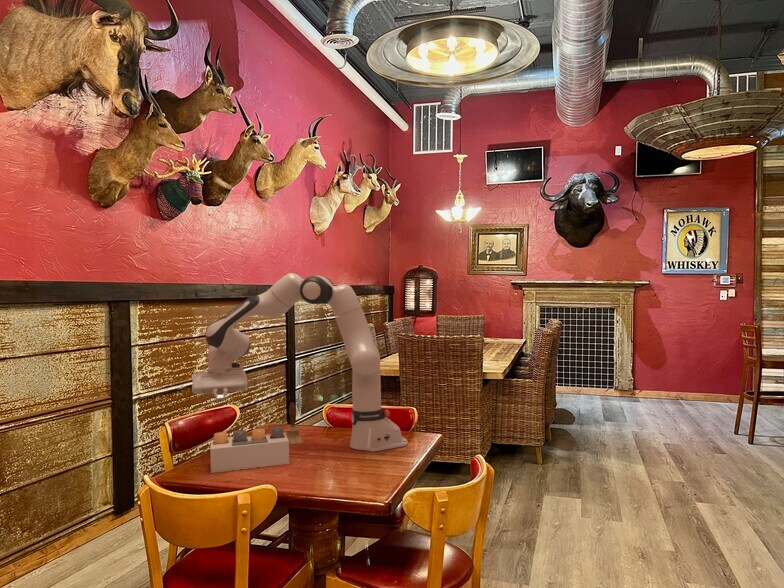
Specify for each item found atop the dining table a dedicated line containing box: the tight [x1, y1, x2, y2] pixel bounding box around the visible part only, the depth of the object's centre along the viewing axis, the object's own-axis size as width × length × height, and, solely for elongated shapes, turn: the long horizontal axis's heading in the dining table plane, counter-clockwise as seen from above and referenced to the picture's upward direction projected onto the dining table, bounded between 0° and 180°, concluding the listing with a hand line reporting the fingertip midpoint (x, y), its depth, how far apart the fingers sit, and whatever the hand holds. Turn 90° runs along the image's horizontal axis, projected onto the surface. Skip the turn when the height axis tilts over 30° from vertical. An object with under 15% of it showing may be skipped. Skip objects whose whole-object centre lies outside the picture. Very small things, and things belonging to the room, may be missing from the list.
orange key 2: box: [251, 427, 266, 440], centre depth 194 cm, size 4×4×6 cm
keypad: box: [209, 432, 290, 474], centre depth 191 cm, size 26×12×8 cm, turn 107°
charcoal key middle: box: [232, 429, 247, 442], centre depth 192 cm, size 4×4×6 cm
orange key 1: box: [213, 431, 228, 445], centre depth 190 cm, size 4×4×6 cm
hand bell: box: [286, 402, 304, 446], centre depth 218 cm, size 8×8×16 cm
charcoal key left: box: [270, 426, 284, 439], centre depth 196 cm, size 4×4×6 cm
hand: (220, 400), depth 202 cm, fingers closed
